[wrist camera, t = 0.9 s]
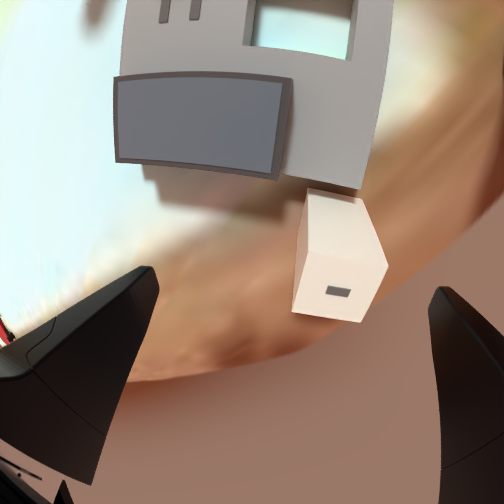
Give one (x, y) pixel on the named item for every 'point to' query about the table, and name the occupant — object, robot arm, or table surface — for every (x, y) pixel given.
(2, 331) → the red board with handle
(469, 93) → the table surface
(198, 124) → the gray flat block
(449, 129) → the table surface
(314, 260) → the block
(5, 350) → the robot arm
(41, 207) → the table surface
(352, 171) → the outlet board
